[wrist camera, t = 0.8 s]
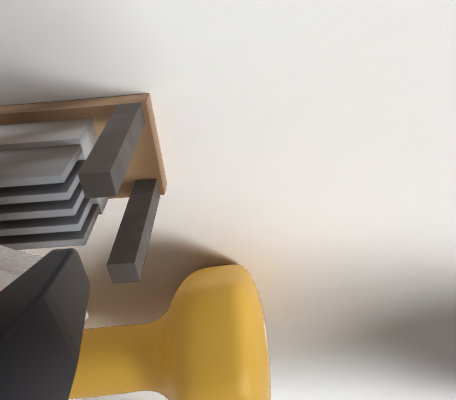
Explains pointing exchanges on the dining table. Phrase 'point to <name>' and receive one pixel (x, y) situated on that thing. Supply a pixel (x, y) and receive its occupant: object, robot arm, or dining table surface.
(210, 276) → the dumbbell
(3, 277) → the grey bar
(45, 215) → the grey and tan frame
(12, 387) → the robot arm
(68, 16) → the dining table surface
